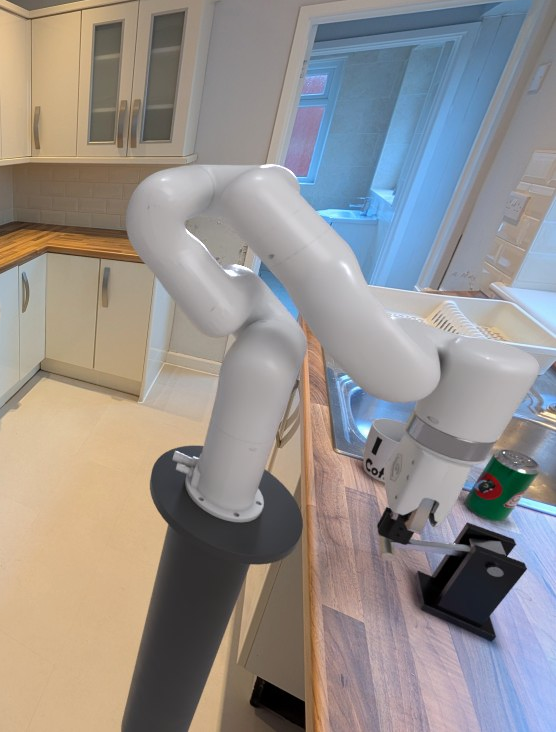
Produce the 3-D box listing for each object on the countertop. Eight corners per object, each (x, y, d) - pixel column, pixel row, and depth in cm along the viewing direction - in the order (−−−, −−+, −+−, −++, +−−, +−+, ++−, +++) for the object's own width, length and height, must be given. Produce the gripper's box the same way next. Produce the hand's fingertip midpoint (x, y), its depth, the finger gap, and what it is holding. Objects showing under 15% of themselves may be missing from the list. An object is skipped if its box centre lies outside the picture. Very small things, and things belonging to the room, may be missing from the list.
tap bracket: (420, 609, 59) (462, 547, 53) (414, 575, 63) (452, 514, 58) (492, 642, 55) (545, 578, 50) (480, 603, 60) (527, 541, 54)
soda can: (502, 528, 70) (540, 474, 65) (460, 508, 74) (493, 455, 69) (507, 513, 73) (544, 460, 68) (466, 494, 77) (499, 443, 72)
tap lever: (383, 563, 59) (379, 549, 59) (379, 532, 64) (375, 519, 64) (514, 582, 52) (510, 566, 51) (499, 546, 56) (496, 530, 56)
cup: (349, 471, 82) (367, 430, 78) (359, 452, 87) (377, 412, 83) (403, 497, 76) (427, 454, 72) (411, 474, 81) (433, 433, 77)
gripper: (401, 395, 60) (355, 490, 68) (416, 457, 49) (360, 562, 57) (474, 414, 56) (417, 512, 64) (509, 486, 45) (435, 594, 53)
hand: (391, 535), depth 60 cm, fingers closed
